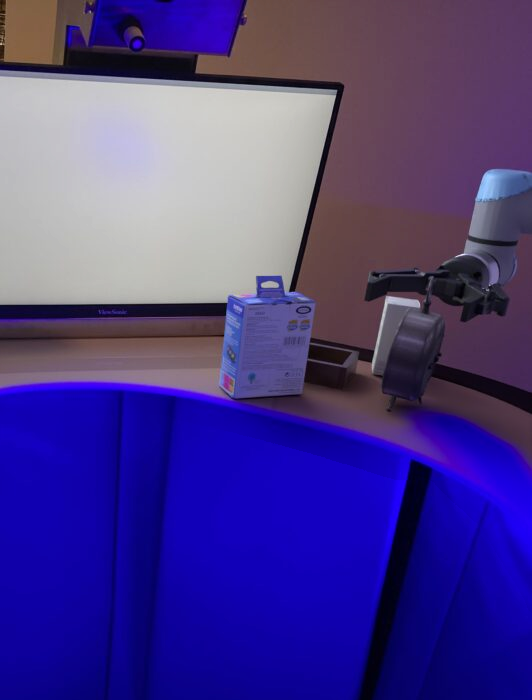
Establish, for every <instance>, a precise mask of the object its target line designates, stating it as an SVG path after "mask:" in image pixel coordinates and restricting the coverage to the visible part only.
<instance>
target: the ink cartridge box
mask: <svg viewBox="0 0 532 700" xmlns="http://www.w3.org/2000/svg"><path fill="white" fill-rule="evenodd" d="M267 282H273V283H276V284H278V287H262V284H264V283H267ZM284 285H285V284H284V280H283V276H282V275H256V276H255V289H256V290H255V291H256V293H243V294H228V295H227V304H226V313H225V314H226V315H225V325H224V333H223V335H224V336H223V346H222V355H221V364H220V375H219V384H218V386H219V387H220V388H221V389H222V390H223V391H224V392H225V393H226V394H227V395H228V396H229V397H231V398H232V399H247V398H249V399H250V398H262V397H263V398H264V397H278V396H280V397H281V396H292V395H293V396H294V395H302V394H303V390H304V389H303V388H304V384H305V383H304V377H305V370H306V363H307V357H308V350H309V343H311V337H312V331H313V324H314V317H315V312H316V306H317V301H316V300H313V299H311V298H309V297H307V296H305V295H304V294H302V293H300V292H296V291H291V292H290V291H287V292H286V291H285V286H284Z"/></svg>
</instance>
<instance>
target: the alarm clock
mask: <svg viewBox="0 0 532 700" xmlns="http://www.w3.org/2000/svg"><path fill="white" fill-rule="evenodd" d="M433 285H434V277H433V276H432V277H431V280H430V283H429V287H428V288H427V290H428V292H427V295H426V298H425V299H424V300H423V302H422V303H423V305H422V307H421V308H420V310H418V309H414V308H409V309H407V311H406V312H405V314H404V315H403V317H402V319H401V321H400V323H399V326H398V328H397V331H396V333H395V336H394V339H393V342H392V345H391V348H390V351H389V354H388V358H387V361H386V365H385V369H384V373H383V376H382V378H381V384H380V385H381V392H382V394H383V395H388V396H390V398H389V402H388V406H387V408H386V410H385V411H386V412H387V413H391V412H392V411H393V406H394V405H395V403H396V401H397V398H398V399H403V400H406V401H410V402H414V401H418V403H419V406H420V407H421V408H422V409H423V408H424V404H423V396H424V395H425V393H426V389H427V387H428V385H429V383H430V381H431V378H432V375H433V372H434V371H435V370H434V369H435V367H436V364H437V363H438V362H439V360H440V358H441V357H442V354H443V352H441V348H442V344H443V340H444V337H445V331H446V322H445V318H444V317H443V316H442V315H441V314H439V313H435V312H431V311H430V306H432V300H431V298H432V296H433V295H432V291H433Z"/></svg>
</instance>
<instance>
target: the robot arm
mask: <svg viewBox="0 0 532 700" xmlns="http://www.w3.org/2000/svg"><path fill="white" fill-rule="evenodd" d="M521 235H532V172H530V171H525V170H517V169H516V170H515V169H508V168H493V169H489V170H487V171H486V172H485V173H484V174H483V176H482V180H481V181H480V184H479V187H478V192H477V195H476V197H475V203H474V208H473V212H472V217H471V220H470V226H469V231H468V235H467V238H466V241H465V246H464V250H463V253H461V254H459V255H456V256H454V257H452V258H449V259H446V260H445V261H444V262H442V263H441V264H439V266H438V268H437V269H435V271H434V270H432V271H431V270H430V271H429V270H423V271H421V272H420V273H419V271H420V268H418V267H415V266H414V267H409V268H404V269H403V268H401V269H387V270H386V269H384V270H370V271H369V274H368V279H367V284H366V289H365V294H364V300H363V301H364V302H369V303H370V302H373V301H375V300H377V299H379V298H382V297H384V296H388V293H417V294H419V295H421V296H427V292H428V287H429V283H430V280H431V277H432V276H433V277H434V285H433V291H432V295H431V296H434V297H436V298H438V299H439V300H440V301H441V302H443V303H444V304H446V305H448V306H451V307H462V310H461V315H460V319H459V322H461V323H468V322H469V321H470V320H471V321H472V320H473V319H474V318H476V317H478V316H483V315H484V316H485V315H491V314H492V312H494V313H495V315H496V316H499V317H506V316H507V312H508V309H509V305H510V301H511V298H510V297H509V295H508V293H506V292H505V290H504V289H503V287H505V286H506V284H507V283H509V282H510V281H511V279H513V277H514V275H515V273H516V272H517V268H518V261H517V255H516V254H515V253H516V250H517V246H518V244H519V243H518V242H519V238H520V236H521Z"/></svg>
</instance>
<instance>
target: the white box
mask: <svg viewBox="0 0 532 700" xmlns="http://www.w3.org/2000/svg"><path fill="white" fill-rule="evenodd" d="M409 308H414V309H418V310H421V304H420V301H419V300H418V299H413V298H406V297H399V296H390V295H385V299H384V306H383V311H382V315H381V320H380V324H379V328H378V334H377V339H376V343H375V348H374V353H373V357H372V361H371V373H372V375H376V376H382V377H383V373H384V369H385V365H386V361H387V358H388V354H389V351H390V348H391V345H392V342H393V339H394V336H395V333H396V331H397V328H398V326H399V323H400V321H401V319H402V317H403V315H404V314H405V312H406V311H407V309H409Z"/></svg>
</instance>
